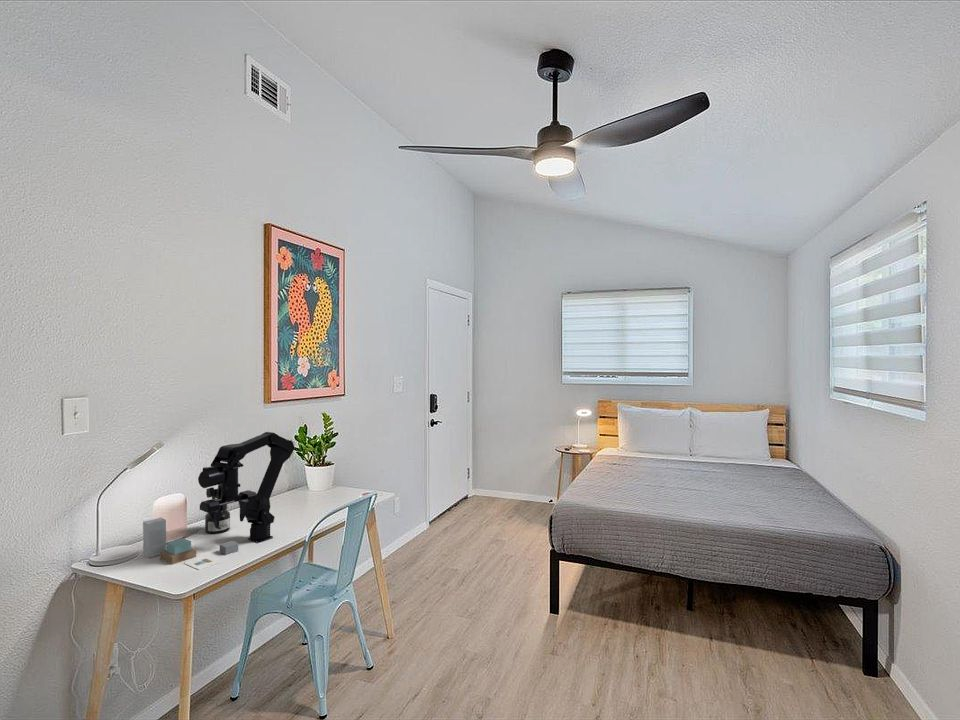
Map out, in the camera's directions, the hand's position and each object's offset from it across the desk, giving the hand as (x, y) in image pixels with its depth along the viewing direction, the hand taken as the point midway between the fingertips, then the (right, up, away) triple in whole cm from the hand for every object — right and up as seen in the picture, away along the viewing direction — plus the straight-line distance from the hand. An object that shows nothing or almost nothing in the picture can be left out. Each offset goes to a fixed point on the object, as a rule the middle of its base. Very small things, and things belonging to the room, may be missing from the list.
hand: (229, 524), depth 187 cm
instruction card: (-4, -10, -10) cm, 15 cm away
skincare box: (-25, -10, -3) cm, 27 cm away
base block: (-15, -10, -6) cm, 19 cm away
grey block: (0, -10, 0) cm, 10 cm away
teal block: (-15, -7, -6) cm, 17 cm away
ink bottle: (-15, -9, +21) cm, 28 cm away
